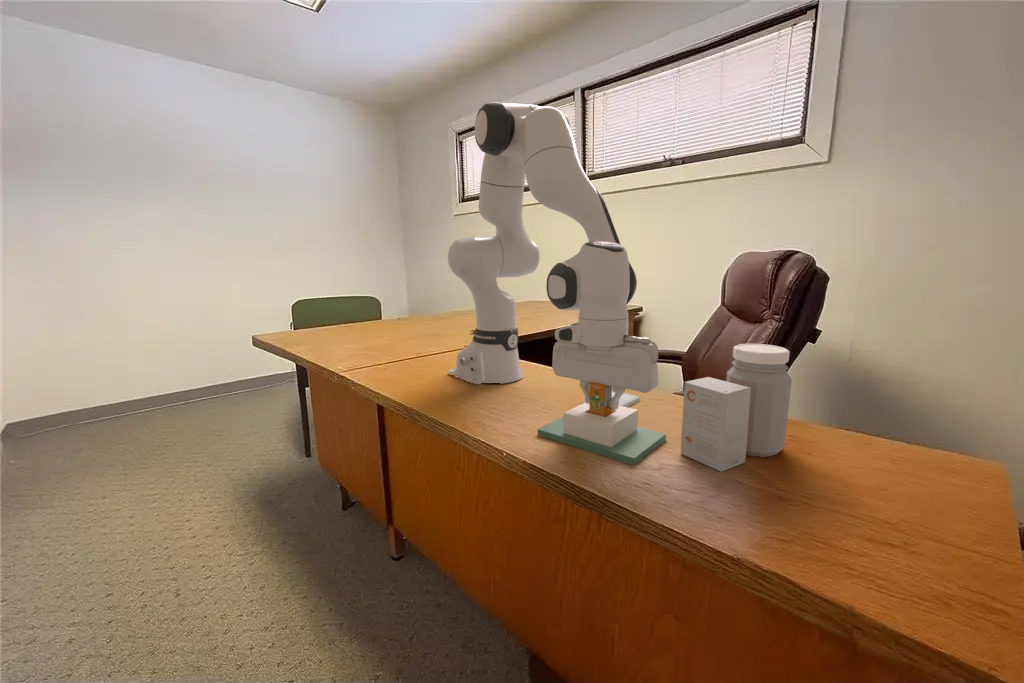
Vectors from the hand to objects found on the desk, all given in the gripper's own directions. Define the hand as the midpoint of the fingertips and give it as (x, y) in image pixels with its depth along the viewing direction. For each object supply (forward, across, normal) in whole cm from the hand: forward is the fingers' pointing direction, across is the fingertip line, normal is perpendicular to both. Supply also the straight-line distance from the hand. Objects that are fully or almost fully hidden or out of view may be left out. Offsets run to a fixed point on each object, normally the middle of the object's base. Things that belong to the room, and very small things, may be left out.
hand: (601, 406), depth 83 cm
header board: (+6, 0, 0) cm, 6 cm away
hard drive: (+7, +8, -19) cm, 22 cm away
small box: (+7, -19, -4) cm, 20 cm away
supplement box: (+5, 0, 0) cm, 5 cm away
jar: (+7, -23, -13) cm, 27 cm away
